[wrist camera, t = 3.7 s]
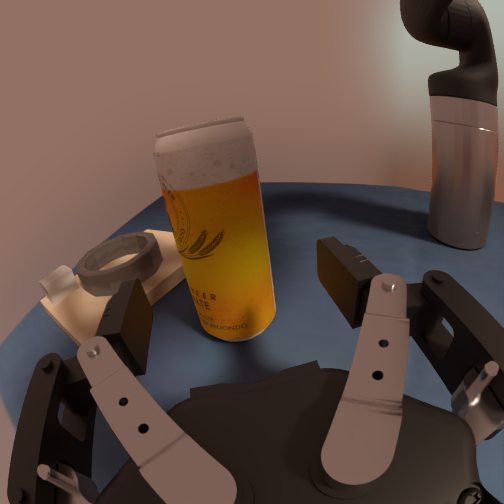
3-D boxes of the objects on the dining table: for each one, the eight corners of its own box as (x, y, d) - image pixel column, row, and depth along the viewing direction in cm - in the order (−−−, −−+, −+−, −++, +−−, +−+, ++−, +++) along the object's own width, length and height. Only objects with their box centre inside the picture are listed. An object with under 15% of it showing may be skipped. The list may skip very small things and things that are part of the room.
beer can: (196, 310, 24) (149, 136, 17) (259, 289, 25) (232, 118, 18) (213, 357, 18) (149, 134, 11) (290, 328, 20) (266, 112, 13)
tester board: (149, 238, 40) (142, 214, 39) (220, 248, 33) (214, 218, 32) (45, 310, 26) (31, 283, 24) (91, 358, 19) (68, 323, 17)
